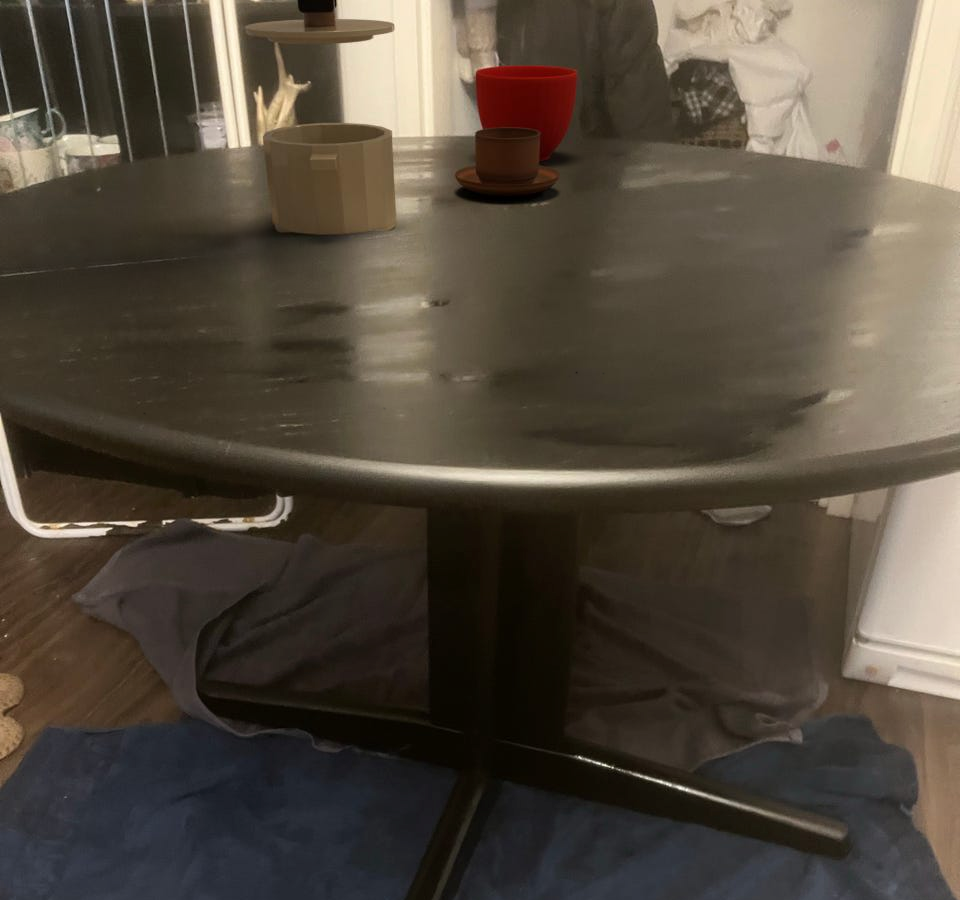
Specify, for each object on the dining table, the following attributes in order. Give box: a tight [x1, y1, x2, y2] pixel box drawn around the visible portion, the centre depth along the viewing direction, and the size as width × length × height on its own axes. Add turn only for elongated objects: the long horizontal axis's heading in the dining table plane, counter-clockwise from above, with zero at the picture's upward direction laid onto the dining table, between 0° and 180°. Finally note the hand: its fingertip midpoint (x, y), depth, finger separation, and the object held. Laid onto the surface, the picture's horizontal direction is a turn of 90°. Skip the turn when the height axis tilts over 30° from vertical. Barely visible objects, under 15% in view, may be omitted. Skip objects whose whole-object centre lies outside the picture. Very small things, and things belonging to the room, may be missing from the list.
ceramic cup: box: [475, 65, 578, 162], centre depth 128 cm, size 13×17×10 cm
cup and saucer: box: [454, 127, 560, 197], centre depth 112 cm, size 12×12×6 cm
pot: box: [262, 122, 397, 236], centre depth 99 cm, size 13×18×8 cm
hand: (318, 8), depth 90 cm, fingers closed on lid, 3 cm apart
